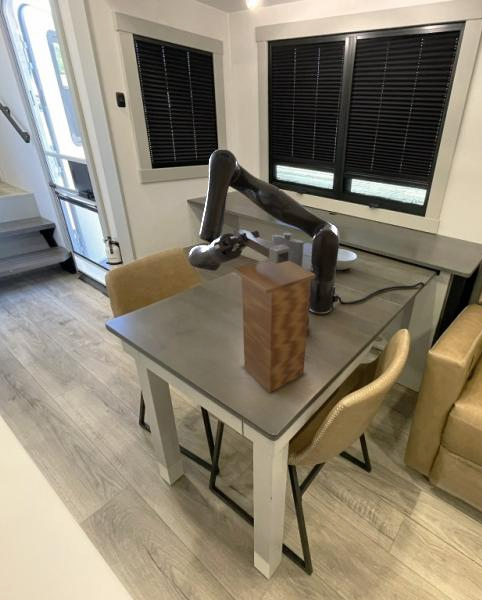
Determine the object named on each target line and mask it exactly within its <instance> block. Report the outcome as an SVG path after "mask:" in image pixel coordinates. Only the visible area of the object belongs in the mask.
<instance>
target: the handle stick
mask: <svg viewBox="0 0 482 600" xmlns="http://www.w3.org/2000/svg"><path fill="white" fill-rule="evenodd" d="M242 233H246V235H247V239H248V241H246V242H244V243H242V244H244V245H246V246H247V247H248V248H249V249H251V250H253V251H255V252H257V253H259V254H260V255H262V256H264V257H266V258H267V259H268V260H270V261H272V262H274V263H276V264H278V263H282V262H285V261H289V260H290V248H289V247H287V246H285V245H283V244H282V245H277V246H276V245H274V244H272V242H270V241H268V240H266V239H264V238H263V237H261V236H260V237H258V236H256V235H254V234H252V233H251V231H249V230H247V229H245V228H241V229H235V230H233V234H234V236H238V235H240V234H242Z"/></svg>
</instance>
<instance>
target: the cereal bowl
mask: <svg viewBox="0 0 482 600" xmlns="http://www.w3.org/2000/svg"><path fill="white" fill-rule="evenodd" d="M357 259H358V255H357V254H356V253H355V252H353V251H351V250H349V249H344V248H339V249H338V257H337V266H336V271H343V270H347V269H351V268H352V267H354V266H355V264H356V262H357Z"/></svg>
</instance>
